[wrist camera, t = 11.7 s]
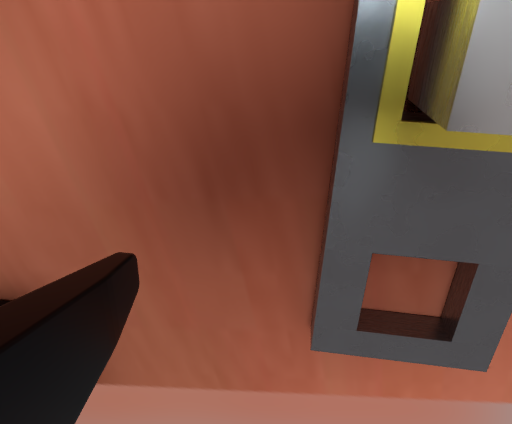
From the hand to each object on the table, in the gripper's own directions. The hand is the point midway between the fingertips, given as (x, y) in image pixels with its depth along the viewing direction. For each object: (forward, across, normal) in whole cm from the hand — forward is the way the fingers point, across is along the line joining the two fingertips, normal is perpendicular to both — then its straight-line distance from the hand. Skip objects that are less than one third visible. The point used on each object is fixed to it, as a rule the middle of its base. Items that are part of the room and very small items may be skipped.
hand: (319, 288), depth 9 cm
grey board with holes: (+12, -6, +2) cm, 14 cm away
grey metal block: (+12, -6, -4) cm, 14 cm away
